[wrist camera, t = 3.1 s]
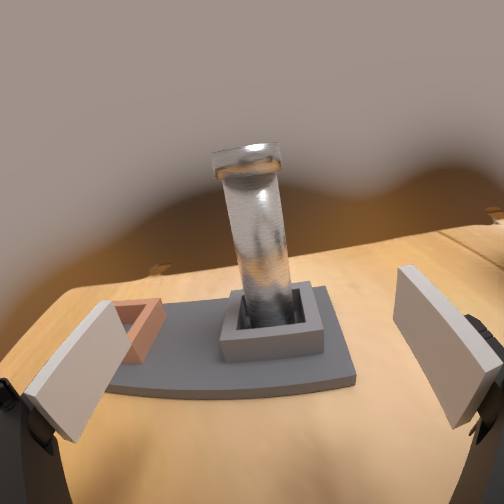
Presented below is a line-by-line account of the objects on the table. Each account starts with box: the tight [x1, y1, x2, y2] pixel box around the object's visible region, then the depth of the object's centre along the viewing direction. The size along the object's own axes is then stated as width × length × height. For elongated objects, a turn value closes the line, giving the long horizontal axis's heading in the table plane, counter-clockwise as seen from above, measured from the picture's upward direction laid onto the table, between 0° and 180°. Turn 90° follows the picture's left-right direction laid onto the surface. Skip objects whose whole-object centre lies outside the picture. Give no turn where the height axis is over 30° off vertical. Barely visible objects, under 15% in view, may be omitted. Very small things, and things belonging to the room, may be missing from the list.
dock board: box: [105, 281, 356, 399], centre depth 25 cm, size 28×14×4 cm, turn 87°
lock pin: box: [211, 142, 295, 329], centre depth 22 cm, size 5×5×16 cm
